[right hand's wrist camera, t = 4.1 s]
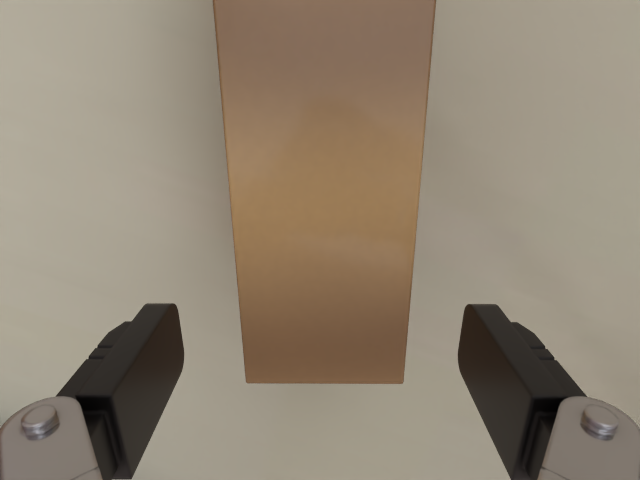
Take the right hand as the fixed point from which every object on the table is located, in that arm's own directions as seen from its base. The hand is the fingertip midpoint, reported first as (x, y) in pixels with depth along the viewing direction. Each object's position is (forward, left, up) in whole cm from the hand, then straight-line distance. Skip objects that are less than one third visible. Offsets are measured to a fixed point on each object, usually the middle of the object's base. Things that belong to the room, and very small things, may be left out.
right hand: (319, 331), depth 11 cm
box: (+8, +2, -12) cm, 14 cm away
